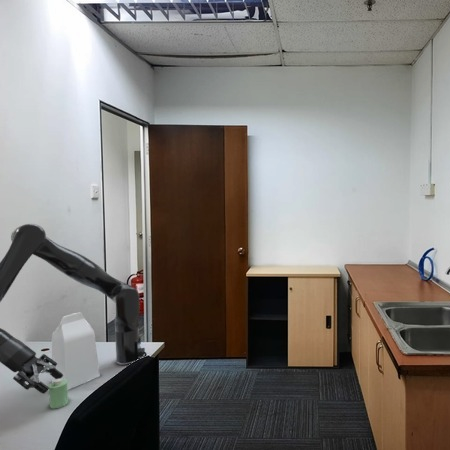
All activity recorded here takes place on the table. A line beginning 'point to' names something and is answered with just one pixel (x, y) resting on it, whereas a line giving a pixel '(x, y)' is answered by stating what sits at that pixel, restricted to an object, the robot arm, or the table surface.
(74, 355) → the milk
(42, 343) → the table surface
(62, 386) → the soap bottle
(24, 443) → the table surface
